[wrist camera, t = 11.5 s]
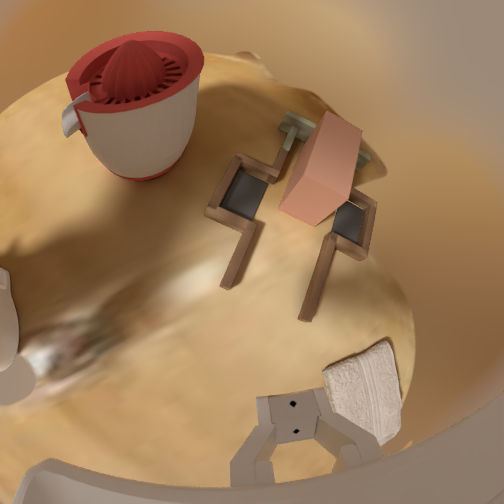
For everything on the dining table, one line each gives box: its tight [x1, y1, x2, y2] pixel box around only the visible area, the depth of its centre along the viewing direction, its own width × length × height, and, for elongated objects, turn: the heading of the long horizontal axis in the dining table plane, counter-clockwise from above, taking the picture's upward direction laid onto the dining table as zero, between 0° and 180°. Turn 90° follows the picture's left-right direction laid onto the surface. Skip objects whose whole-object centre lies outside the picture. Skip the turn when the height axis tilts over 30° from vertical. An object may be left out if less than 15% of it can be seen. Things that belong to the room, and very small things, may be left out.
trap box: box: [205, 110, 377, 322], centre depth 37 cm, size 24×29×4 cm
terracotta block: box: [278, 110, 362, 227], centre depth 36 cm, size 6×13×10 cm, turn 158°
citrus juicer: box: [62, 31, 204, 181], centre depth 27 cm, size 16×17×20 cm
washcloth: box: [322, 341, 402, 445], centre depth 33 cm, size 12×18×3 cm, turn 15°
